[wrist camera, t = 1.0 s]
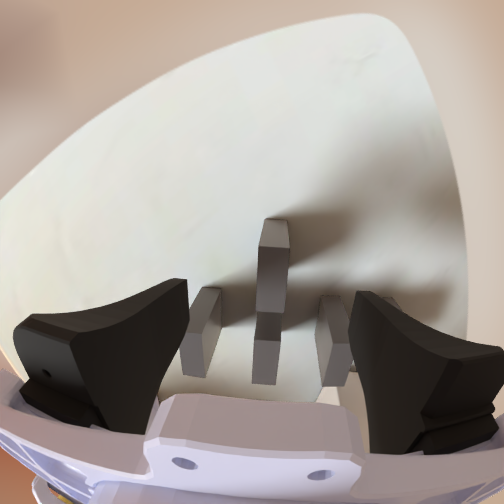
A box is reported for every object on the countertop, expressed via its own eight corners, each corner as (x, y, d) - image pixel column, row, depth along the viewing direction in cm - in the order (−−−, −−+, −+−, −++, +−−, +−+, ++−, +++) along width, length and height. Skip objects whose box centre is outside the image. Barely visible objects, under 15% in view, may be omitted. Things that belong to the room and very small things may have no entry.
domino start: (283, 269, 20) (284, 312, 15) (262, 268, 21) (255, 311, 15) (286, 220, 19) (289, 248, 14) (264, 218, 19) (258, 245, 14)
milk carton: (397, 374, 23) (454, 548, 5) (367, 419, 25) (392, 571, 7) (332, 367, 23) (357, 579, 5) (307, 414, 25) (308, 585, 8)
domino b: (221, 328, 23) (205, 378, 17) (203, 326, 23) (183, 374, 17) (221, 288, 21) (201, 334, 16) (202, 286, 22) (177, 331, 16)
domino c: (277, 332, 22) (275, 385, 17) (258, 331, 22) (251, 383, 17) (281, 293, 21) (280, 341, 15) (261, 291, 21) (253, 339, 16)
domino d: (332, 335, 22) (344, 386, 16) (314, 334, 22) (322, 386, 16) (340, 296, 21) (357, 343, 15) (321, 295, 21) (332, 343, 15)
